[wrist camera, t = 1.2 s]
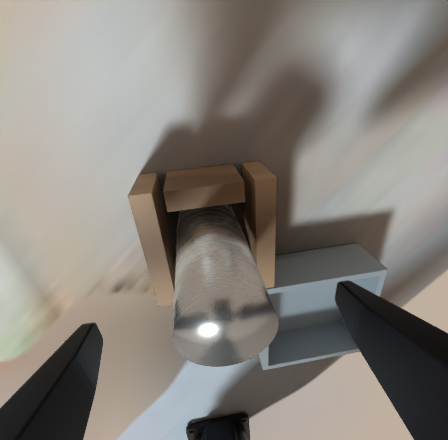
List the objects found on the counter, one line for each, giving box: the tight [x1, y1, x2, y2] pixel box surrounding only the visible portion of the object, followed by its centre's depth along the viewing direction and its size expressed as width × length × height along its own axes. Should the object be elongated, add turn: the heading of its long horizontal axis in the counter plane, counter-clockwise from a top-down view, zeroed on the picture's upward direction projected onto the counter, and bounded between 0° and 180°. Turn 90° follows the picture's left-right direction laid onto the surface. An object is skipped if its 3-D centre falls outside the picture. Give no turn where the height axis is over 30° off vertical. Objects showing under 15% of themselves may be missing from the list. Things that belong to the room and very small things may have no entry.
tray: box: [258, 243, 388, 370], centre depth 18 cm, size 8×8×3 cm
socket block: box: [128, 161, 277, 306], centre depth 14 cm, size 7×7×3 cm
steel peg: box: [173, 204, 279, 367], centre depth 12 cm, size 4×4×8 cm
